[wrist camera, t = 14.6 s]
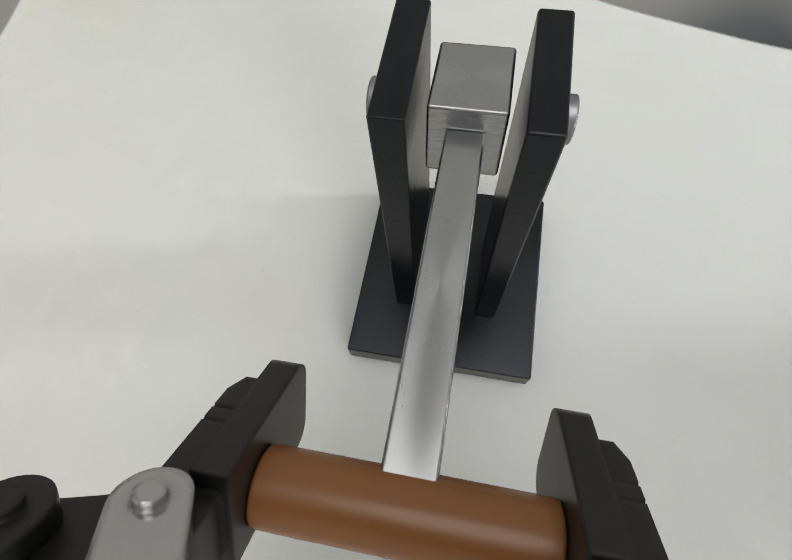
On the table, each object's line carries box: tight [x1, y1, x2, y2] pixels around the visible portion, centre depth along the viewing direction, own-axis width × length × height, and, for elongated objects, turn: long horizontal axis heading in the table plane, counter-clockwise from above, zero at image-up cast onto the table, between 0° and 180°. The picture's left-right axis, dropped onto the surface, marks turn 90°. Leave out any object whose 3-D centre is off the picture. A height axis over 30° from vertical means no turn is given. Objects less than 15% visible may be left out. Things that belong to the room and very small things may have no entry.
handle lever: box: [246, 42, 567, 560], centre depth 12 cm, size 13×6×2 cm, turn 170°
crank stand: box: [348, 0, 580, 384], centre depth 19 cm, size 10×9×15 cm
